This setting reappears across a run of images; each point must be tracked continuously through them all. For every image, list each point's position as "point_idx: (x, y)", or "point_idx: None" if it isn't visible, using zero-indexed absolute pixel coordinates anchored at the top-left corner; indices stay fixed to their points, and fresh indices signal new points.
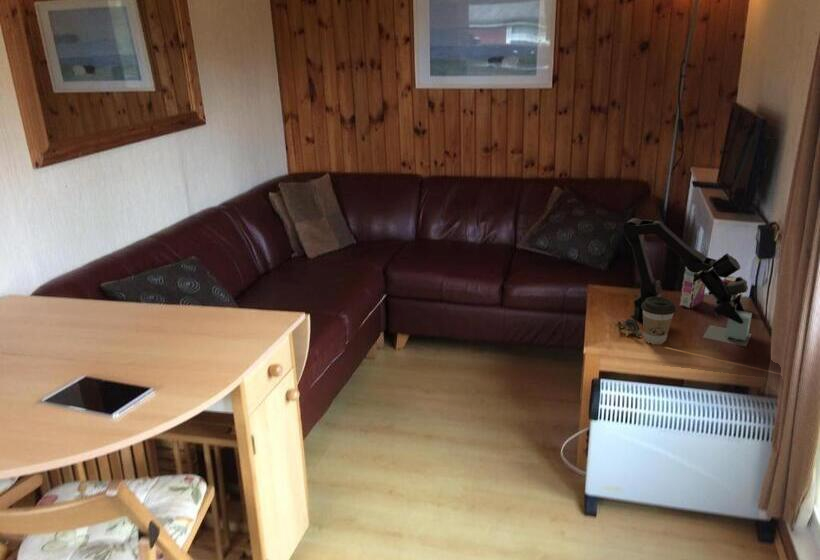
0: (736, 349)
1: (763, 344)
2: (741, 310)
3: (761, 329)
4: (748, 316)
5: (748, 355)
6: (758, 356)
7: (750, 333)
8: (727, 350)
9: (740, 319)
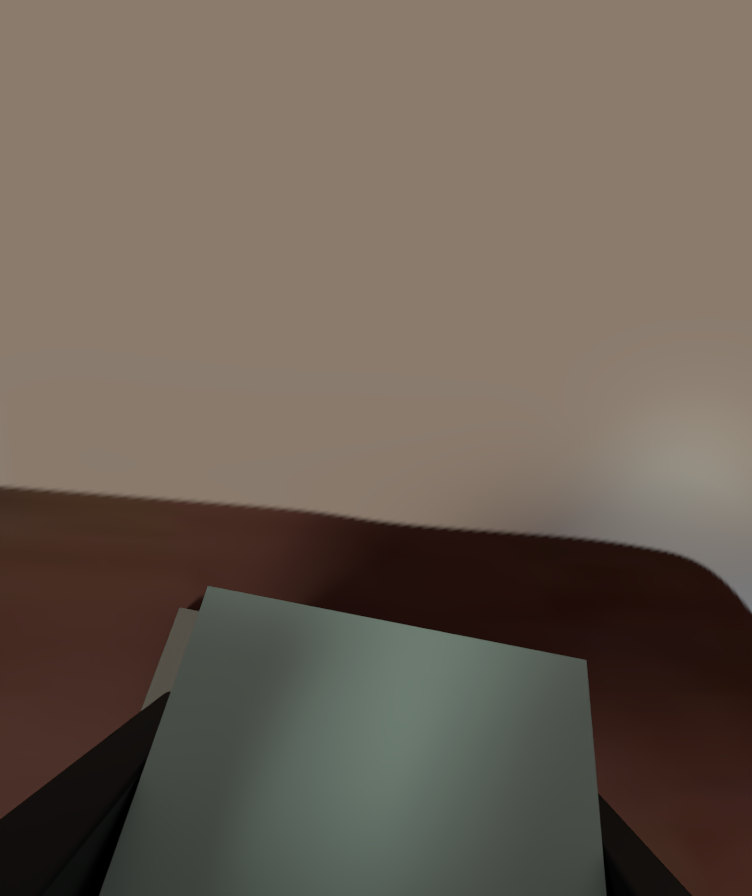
0: None
1: (365, 521)
2: (89, 874)
3: (12, 512)
4: (432, 668)
5: (642, 651)
6: (610, 573)
7: (177, 621)
8: None
9: (647, 859)
